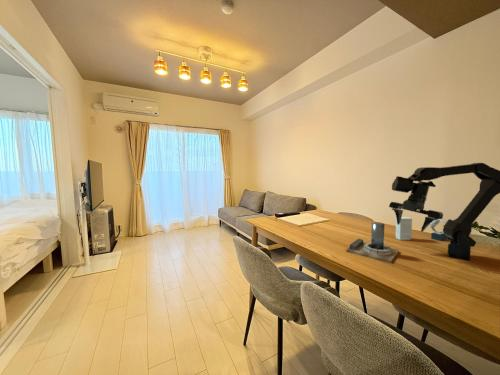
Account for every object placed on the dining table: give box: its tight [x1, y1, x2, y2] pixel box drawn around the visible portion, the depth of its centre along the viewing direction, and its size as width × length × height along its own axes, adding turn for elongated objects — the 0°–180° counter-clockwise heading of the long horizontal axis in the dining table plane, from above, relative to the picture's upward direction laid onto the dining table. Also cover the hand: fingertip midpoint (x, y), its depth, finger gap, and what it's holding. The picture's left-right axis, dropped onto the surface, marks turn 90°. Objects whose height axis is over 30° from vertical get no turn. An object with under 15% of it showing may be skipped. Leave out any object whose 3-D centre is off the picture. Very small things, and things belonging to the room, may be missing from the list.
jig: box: [345, 238, 400, 264], centre depth 98 cm, size 18×16×3 cm
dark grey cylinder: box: [370, 221, 386, 250], centre depth 96 cm, size 5×5×13 cm
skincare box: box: [395, 216, 413, 241], centre depth 114 cm, size 6×4×12 cm
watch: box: [429, 218, 448, 242], centre depth 112 cm, size 6×8×11 cm
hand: (409, 227), depth 94 cm, fingers open, 9 cm apart
